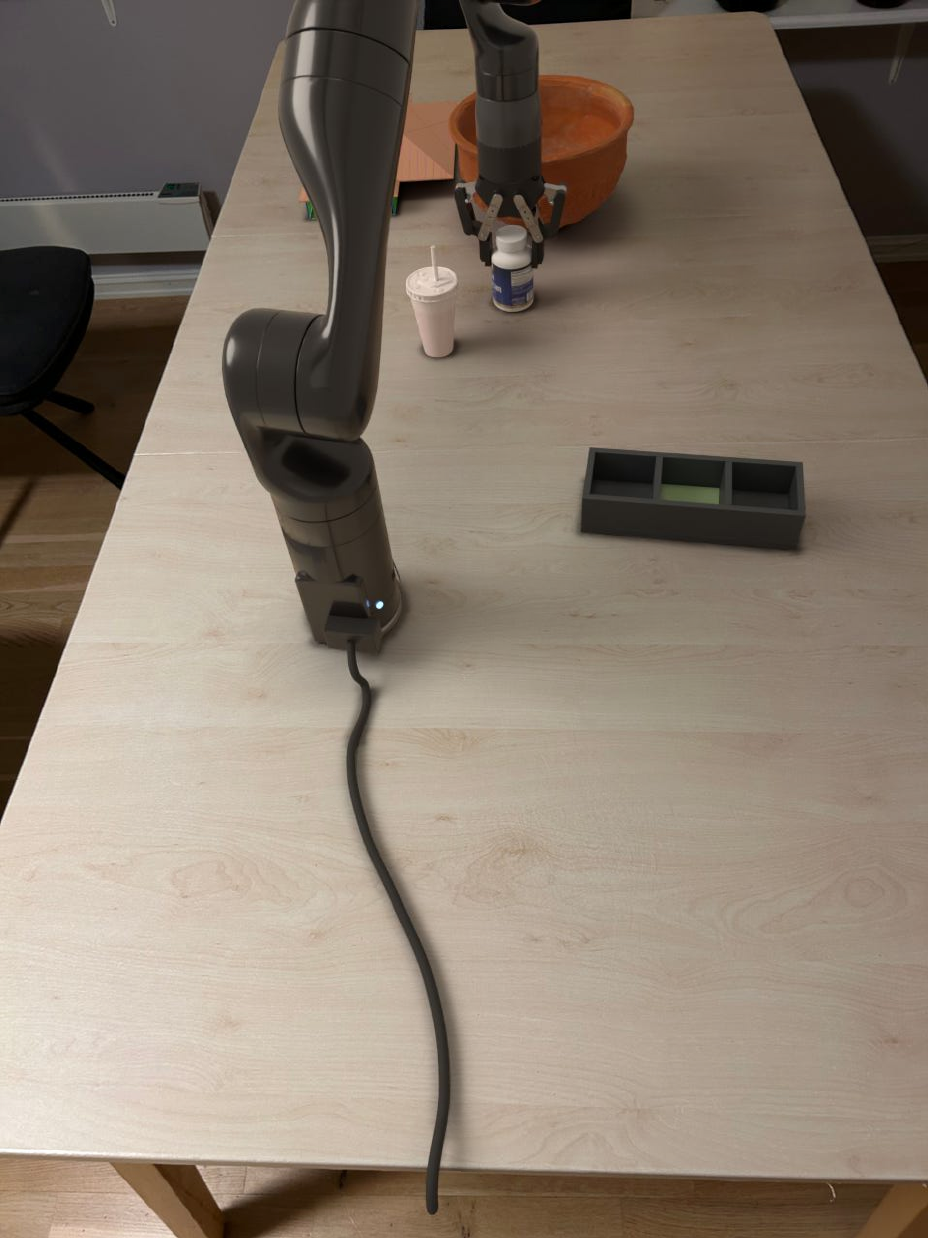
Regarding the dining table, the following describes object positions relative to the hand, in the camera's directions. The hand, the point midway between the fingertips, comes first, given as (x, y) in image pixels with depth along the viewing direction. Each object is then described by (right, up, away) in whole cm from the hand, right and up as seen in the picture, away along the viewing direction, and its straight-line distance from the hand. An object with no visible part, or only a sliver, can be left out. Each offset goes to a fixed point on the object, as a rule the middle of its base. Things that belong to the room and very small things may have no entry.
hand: (512, 263), depth 120 cm
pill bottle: (0, -4, +5) cm, 6 cm away
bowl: (+5, +13, +17) cm, 22 cm away
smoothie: (-9, -11, -1) cm, 15 cm away
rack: (+17, -35, -22) cm, 44 cm away
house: (-19, +27, +30) cm, 45 cm away
